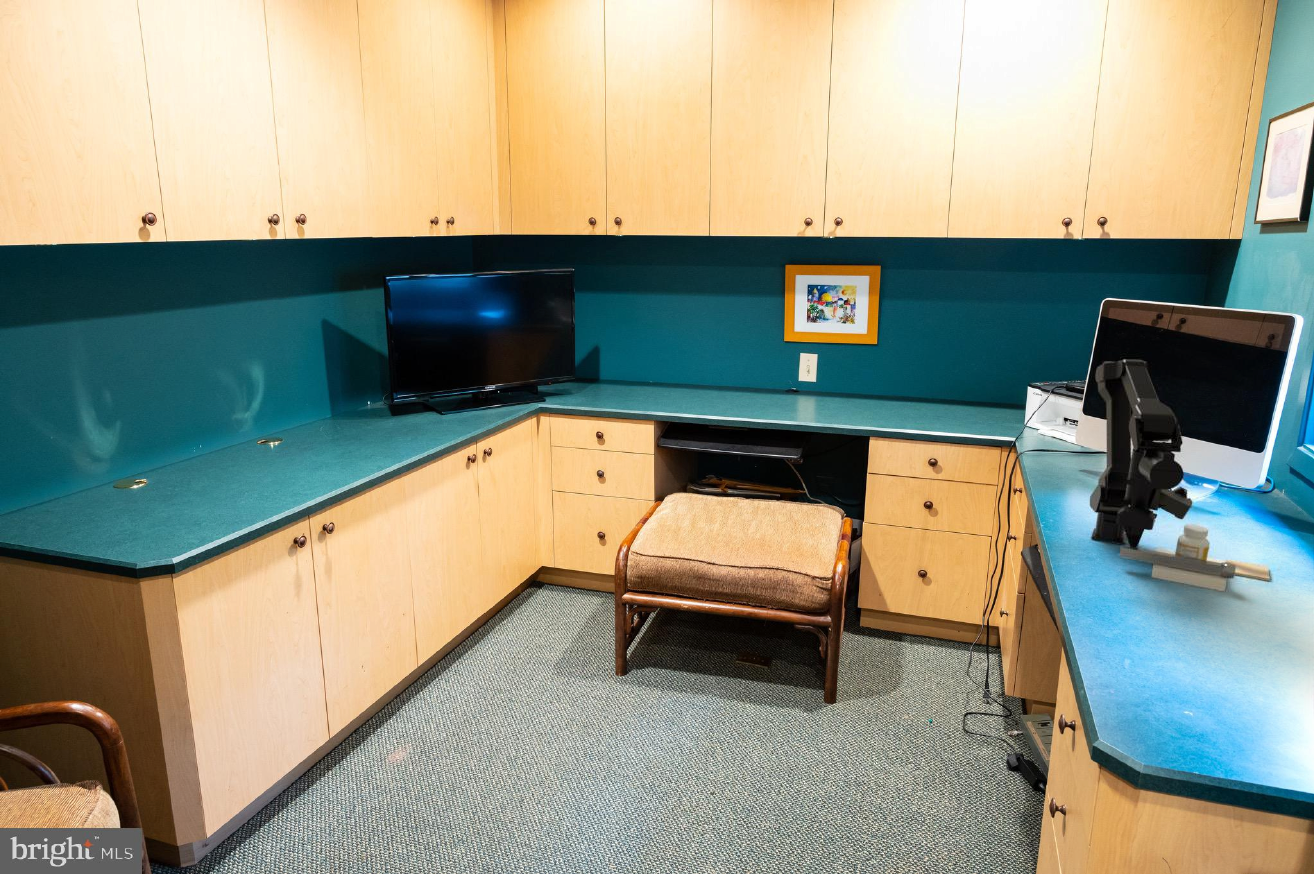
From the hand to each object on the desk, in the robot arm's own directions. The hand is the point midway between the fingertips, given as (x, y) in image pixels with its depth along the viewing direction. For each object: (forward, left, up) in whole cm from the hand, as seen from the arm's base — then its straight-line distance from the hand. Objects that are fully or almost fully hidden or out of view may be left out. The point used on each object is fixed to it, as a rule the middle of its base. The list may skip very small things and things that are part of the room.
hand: (1133, 548), depth 174 cm
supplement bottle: (-1, +10, -4) cm, 11 cm away
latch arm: (+3, +7, -1) cm, 8 cm away
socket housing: (-1, +10, -3) cm, 10 cm away
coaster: (-9, +20, -3) cm, 22 cm away
